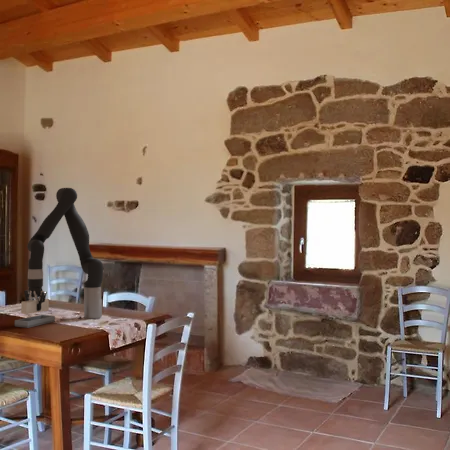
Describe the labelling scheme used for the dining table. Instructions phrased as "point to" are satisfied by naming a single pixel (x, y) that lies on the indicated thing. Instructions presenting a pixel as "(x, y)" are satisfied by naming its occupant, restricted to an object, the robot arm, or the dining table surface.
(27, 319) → the grey flat block
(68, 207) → the robot arm
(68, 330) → the dining table surface
